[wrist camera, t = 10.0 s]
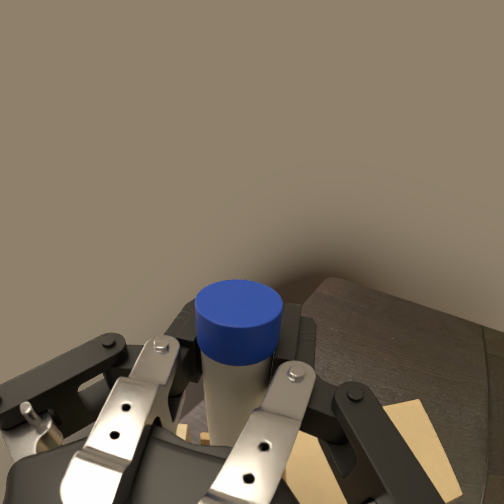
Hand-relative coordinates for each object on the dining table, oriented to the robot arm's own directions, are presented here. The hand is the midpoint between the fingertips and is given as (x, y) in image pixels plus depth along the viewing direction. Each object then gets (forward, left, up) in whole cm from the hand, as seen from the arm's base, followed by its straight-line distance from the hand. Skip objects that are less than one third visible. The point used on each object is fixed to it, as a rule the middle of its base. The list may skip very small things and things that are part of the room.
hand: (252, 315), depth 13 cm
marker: (-2, -2, -11) cm, 12 cm away
